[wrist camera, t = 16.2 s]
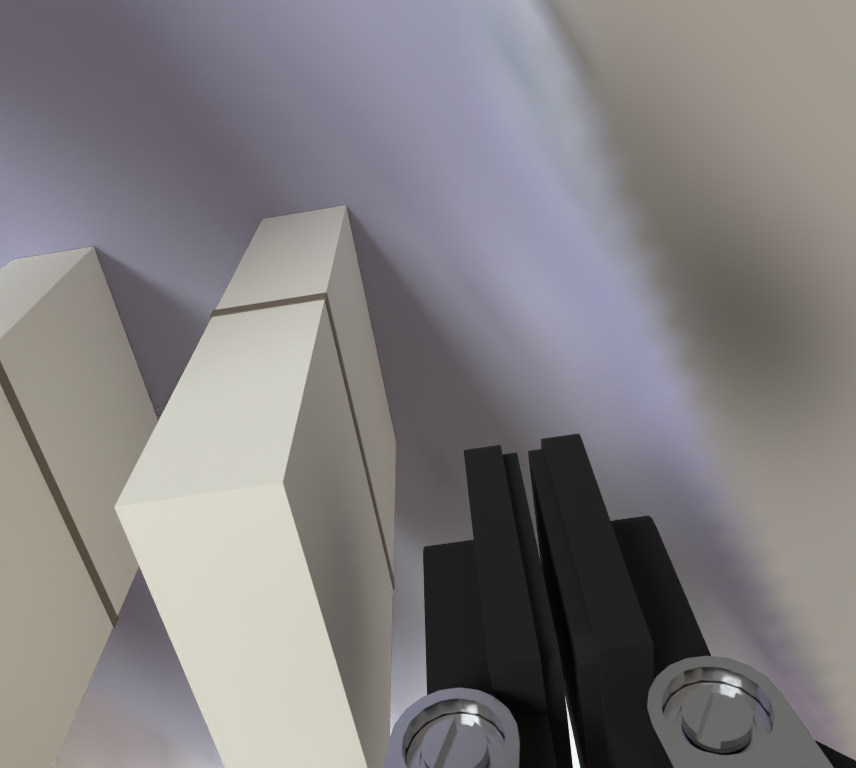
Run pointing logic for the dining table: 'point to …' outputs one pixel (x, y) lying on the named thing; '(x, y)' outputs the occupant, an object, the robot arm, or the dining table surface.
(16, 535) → the domino
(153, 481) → the domino
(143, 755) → the dining table surface
